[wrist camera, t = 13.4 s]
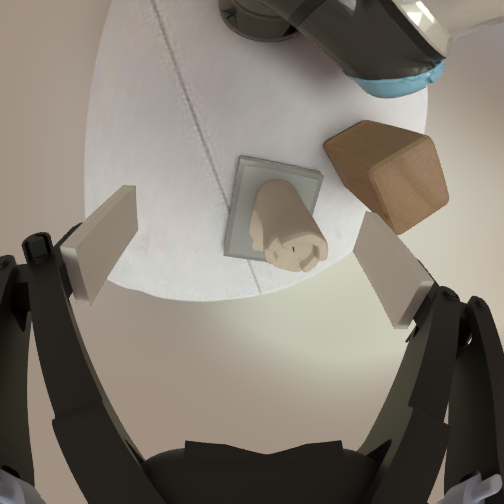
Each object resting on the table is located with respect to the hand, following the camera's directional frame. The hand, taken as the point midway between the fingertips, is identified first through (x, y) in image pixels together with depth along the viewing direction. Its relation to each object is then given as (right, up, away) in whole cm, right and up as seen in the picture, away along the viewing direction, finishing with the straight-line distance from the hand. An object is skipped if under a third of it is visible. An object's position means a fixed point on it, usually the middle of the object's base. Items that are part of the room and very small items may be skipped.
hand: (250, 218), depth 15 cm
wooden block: (+19, +16, +30) cm, 39 cm away
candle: (+3, +4, +32) cm, 33 cm away
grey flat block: (+3, +6, +35) cm, 36 cm away
